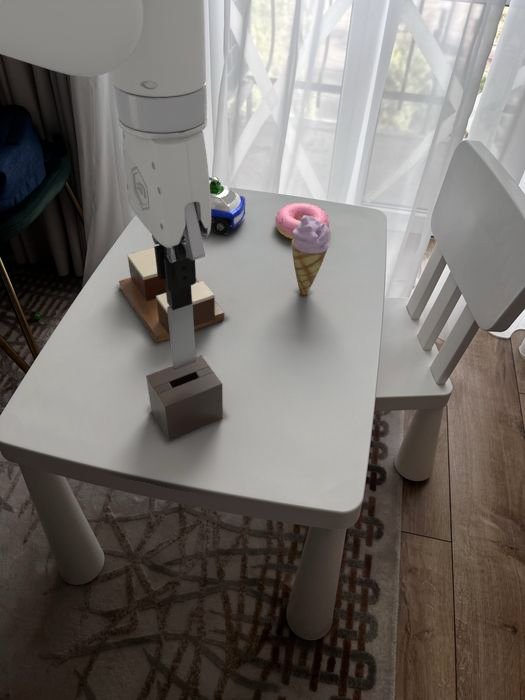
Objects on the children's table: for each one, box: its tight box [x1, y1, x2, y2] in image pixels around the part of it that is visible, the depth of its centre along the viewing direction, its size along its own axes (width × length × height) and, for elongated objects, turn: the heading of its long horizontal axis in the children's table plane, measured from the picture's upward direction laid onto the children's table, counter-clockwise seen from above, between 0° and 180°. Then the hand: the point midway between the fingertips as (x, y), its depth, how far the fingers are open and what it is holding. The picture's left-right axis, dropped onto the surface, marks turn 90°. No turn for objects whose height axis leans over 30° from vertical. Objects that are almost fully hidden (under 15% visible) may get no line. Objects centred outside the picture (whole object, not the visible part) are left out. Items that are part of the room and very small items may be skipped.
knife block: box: [145, 354, 224, 442], centre depth 71 cm, size 8×6×7 cm
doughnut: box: [274, 202, 331, 241], centre depth 108 cm, size 11×11×4 cm
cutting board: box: [118, 276, 225, 344], centre depth 90 cm, size 12×16×2 cm
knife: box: [161, 239, 197, 370], centre depth 61 cm, size 3×2×18 cm, turn 121°
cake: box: [126, 247, 166, 301], centre depth 90 cm, size 8×7×5 cm
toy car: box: [209, 176, 246, 236], centre depth 107 cm, size 9×12×10 cm
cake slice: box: [156, 280, 216, 335], centre depth 84 cm, size 8×4×5 cm, turn 121°
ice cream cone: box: [291, 215, 331, 296], centre depth 89 cm, size 7×6×15 cm
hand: (176, 279), depth 58 cm, fingers closed on knife, 1 cm apart
